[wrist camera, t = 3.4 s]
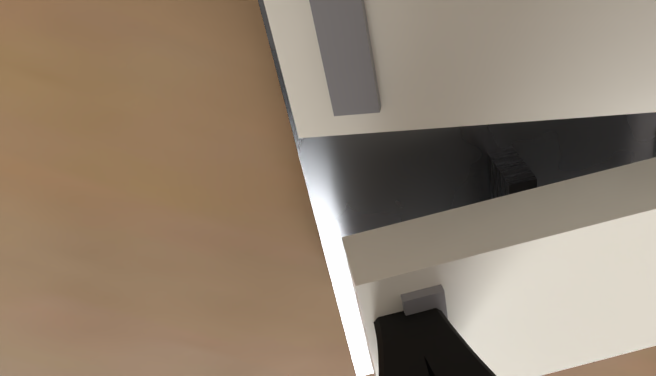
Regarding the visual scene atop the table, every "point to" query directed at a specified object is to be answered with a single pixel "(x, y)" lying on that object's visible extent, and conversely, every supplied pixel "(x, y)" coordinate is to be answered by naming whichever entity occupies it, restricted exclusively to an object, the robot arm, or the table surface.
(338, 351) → the table surface
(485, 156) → the grey slab
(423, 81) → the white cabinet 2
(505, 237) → the white rectangular block
